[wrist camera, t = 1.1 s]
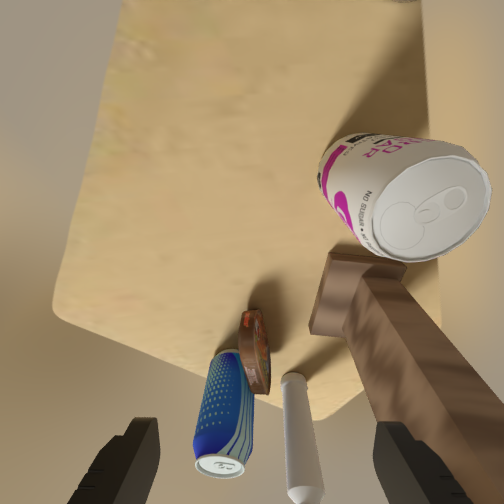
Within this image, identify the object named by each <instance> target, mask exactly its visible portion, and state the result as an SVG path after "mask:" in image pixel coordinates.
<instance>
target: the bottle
mask: <svg viewBox="0 0 504 504" xmlns="http://www.w3.org/2000/svg"><path fill="white" fill-rule="evenodd" d="M307 389H308V386H307V382H306V379H305V377H304V376H303V375H302V374H300V373H295V372H292V373H287V374H285V375H284V376H283V377H282V379H281V391H282V394H283V414H284V435H285V455H286V477H287V493H288V495H289V497H290V498H291V499H292V500H293V501H294V502H295V504H320V502H321V500H322V499H323V497H324V495H325V489H324V484H323V478H322V473H321V467H320V462H319V456H318V450H317V445H316V439H315V434H314V428H313V423H312V417H311V412H310V406H309V401H308V395H307Z"/></svg>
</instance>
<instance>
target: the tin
mask: <svg viewBox="0 0 504 504" xmlns="http://www.w3.org/2000/svg"><path fill="white" fill-rule="evenodd" d="M238 346H239V354H240V359H241V363H242V366H243V369H244V373H245V376H246V379H247V382H248V385H249V388H250V391H251V392H252V393H253V394H266V395H269V392H270V385H271V359H270V350H269V344H268V340H267V335H266V330H265V325H264V321H263V316H262V313H261V311H260V310H259V309H258V310H251V311H244V312H243V313H242V318H241V323H240V327H239V332H238Z"/></svg>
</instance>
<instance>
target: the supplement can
mask: <svg viewBox="0 0 504 504" xmlns="http://www.w3.org/2000/svg"><path fill="white" fill-rule="evenodd" d="M317 180H318V186H319V190H320V191H321V193H322V194H323V196H324V198H325V199H326V200H327V201H328V203H329V204H330V205H331V207H332V208H333V209H334V210H335V212H336V213H337V214H338V215H339V217H340V218H341V219H342V220H343V222H344V223H345V224H346V225H347V227H348V228H349V229H350V230H351V232H352V233H353V234H354V235H355V237H356V238H357V239H358V240H359V242H360V243H361V244H362V245H363V246H364V247H365V248H367V249H368V250H370V251H371V252H373V253H374V254H376V255H378V256H382V257H386V258H391V259H394V260H398V261H403V262H407V263H409V262H422V261H428V260H431V259H434V258H437V257H440V256H443V255H445V254H447V253H449V252H450V251H452V250H453V249H455V248H457V247H458V246H460V245H461V244H463V243H464V242H465V241H466V240H467V239H468V238H469V237H470V236H471V235H472V234H473V233H474V232H475V231H476V230H477V229H478V228H479V226H480V224H481V223H482V221H483V219H484V217H485V215H486V214H487V212H488V210H489V206H490V200H491V194H492V188H491V184H490V181H489V178H488V174H487V172H486V171H484V170H483V169H482V168H481V167H480V165H479V163H478V161H477V160H476V159H475V158H474V157H473V156H472V155H471V154H470V153H469V152H468V151H467V150H466V149H464V147H462V146H458V145H455V144H451V143H447V142H444V141H438V140H429V139H419V138H410V137H401V136H391V135H382V134H372V133H356V134H349V135H347V136H345V137H343V138H341V139H339V140H337V141H336V142H335V143H334V144H333V145H332V146H331V147H330V148H329V149H328V150H327V151H326V152H325V154H324V156H323V158H322V159H321V161H320V163H319V168H318V173H317Z"/></svg>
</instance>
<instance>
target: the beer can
mask: <svg viewBox="0 0 504 504" xmlns="http://www.w3.org/2000/svg"><path fill="white" fill-rule="evenodd" d="M253 421H254V394H253V393H252V392H251V391H250V388H249V385H248V382H247V379H246V376H245V373H244V369H243V366H242V363H241V359H240V354H239V350H238V349H226V350H223V351H221V352H220V353H218V354H217V355H216V356H215V357H214V358H213V359H212V361H211V363H210V367H209V372H208V376H207V382H206V385H205V390H204V394H203V399H202V403H201V408H200V412H199V417H198V422H197V426H196V431H195V436H194V440H193V448H194V452H195V456H196V463H195V466H196V468H197V470H198V471H199V472H201V473H202V474H205V475H207V476H211V477H214V478H234V477H237V476H240V475H241V474H243V472H244V470H245V464H246V462H247V460H248V458H249V456H250V454H251V452H252V448H253Z"/></svg>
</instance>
